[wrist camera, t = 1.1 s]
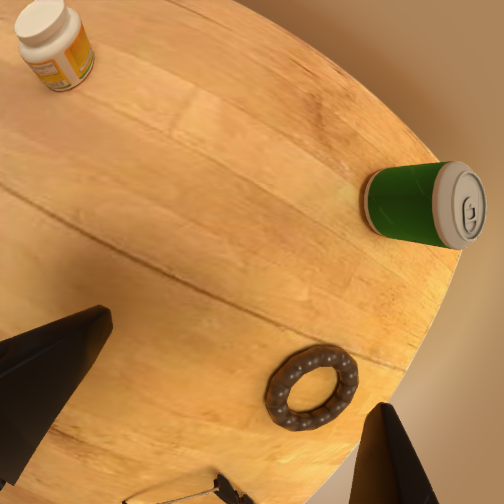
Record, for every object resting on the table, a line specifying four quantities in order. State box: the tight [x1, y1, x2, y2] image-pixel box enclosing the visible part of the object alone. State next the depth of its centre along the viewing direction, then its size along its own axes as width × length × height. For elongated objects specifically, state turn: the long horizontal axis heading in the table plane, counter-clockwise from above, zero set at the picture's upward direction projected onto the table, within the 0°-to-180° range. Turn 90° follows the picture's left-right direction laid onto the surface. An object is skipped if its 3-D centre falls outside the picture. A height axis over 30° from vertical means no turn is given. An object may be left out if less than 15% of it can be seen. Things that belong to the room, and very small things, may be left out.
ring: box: [265, 346, 359, 431], centre depth 30 cm, size 11×11×2 cm
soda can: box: [364, 161, 487, 250], centre depth 25 cm, size 8×8×12 cm
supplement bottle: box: [14, 0, 94, 91], centre depth 15 cm, size 5×5×10 cm
